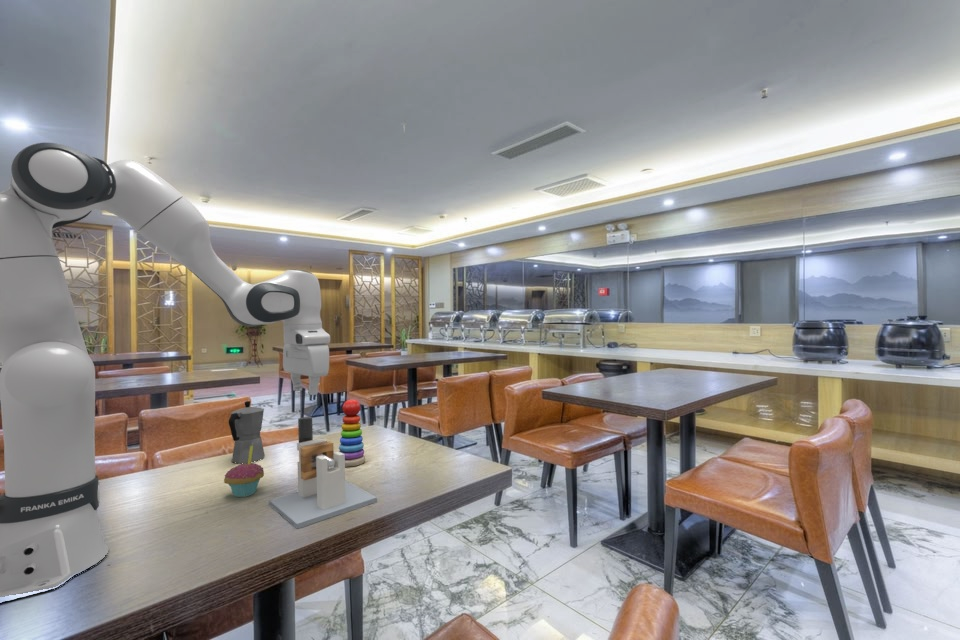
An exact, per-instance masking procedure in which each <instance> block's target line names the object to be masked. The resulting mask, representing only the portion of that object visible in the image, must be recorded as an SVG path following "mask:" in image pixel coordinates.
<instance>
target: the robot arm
mask: <svg viewBox="0 0 960 640" xmlns="http://www.w3.org/2000/svg"><path fill="white" fill-rule="evenodd" d="M11 163H12V164H11V176H10V177H11V178H10V185H9V186H8V188H7V189H5V190H3V191H0V363H1V369H0V413H1V425H2V426H1V427H2V437H3V438H2V439H3V446H4V447H3V451H4V452H3V453H4V455H3V457H4V459H3V460H4V493H1V492H0V597H5V596H9V595H16V594H23V593H28V592H33V591H39V590H43V589H49V588H53V587H56V586H58V585H59V584H61V583H62V582H64V581H65V580H67V579H68V578H69V577H70V576H72V575H73V574H75V573H77V572H79V571H81V570H83V569H85V568H86V567H89V566H91V565H93V564H95V563H96V562H98V561H99V560H101V559H102V558H103V557H105V555H106V554H107V553H108V554H109V552H108V549H109V547H108V545H107V543H106V541H105V539H104V534H103V531H102V528H101V523H100V518H99V512H98V511H99V510H98V509H99V507H100V503H101V489H100V488H101V486H100V481H99V476H98V474H96V448H95V447H96V445H95V439H96V436H95V434H96V433H95V429H96V427H95V426H96V368H95V365H94V362H93V360H92V358H91V357H90V355H89V352H88V350H87V346H86V343H85V339H84V336H83V332H82V329H81V326H80V323H79V319H78V315H77V313H76V308H75V305H74V302H73V299H72V296H71V292H70V289H69V287H68V286H69V285H68V282H67V279H66V275H65V273H64V270H63V267H62V263H61V261H60V258H59V255H58V251H57V249H56V247H55V242H54V239H53V229H56V228H60V227H61V226H66V225H69V224H73V223H76V222H79V221H81V220H83V219H85V218H87V217H88V216H89V215H90V214H91V213H92V212H93V210H98V211H104V212H108V213H110V214H112V215H114V216H116V217H118V218H119V219H122V220H123V221H124V222H125V223H126V224H127V225H129V226H130V227H131V228H132V229H134V230H135V231H136V232H137V233H138V234H139V235H141V236H142V237H143V238H144V239H146V240H147V241H149V243H151V244H153V245H154V246H155V247H156V248H157V249H159V250H160V251H162V252H163V253H165V254H167V255H168V256H170V257H171V258H173V259H174V260H176V261H177V262H178V263H179V264H180V265H182V266H184V267H185V268H186V269H188V270H189V271H190V272H191V273H192V274H193V275H194V276H195V277H196V278H197V279H199V280H200V281H201V282H202V283H203V284H204V285H206V287H208V288H209V289H210V290H211V291H212V292H213V293H214V294H215V295H217V297H218V298H219V299H220V300H221V301H222V303H223V304H224V306H225V308H226V310H227V312H228V314H229V315H230V317H231V319H232V320H234V321H235V322H236V323H237V324H239V325H240V326H241V325H242V326H243V327H244V326H246V327H257V326H261V325H267V324H268V325H269V324H275V323H277V322H279V321H280V322H282V324H283V344H284V345H283V350H282V369H283V371H284V372H285V373H290V379H291V383H292V391H294V392H301V391H303V383H302V380H301V377H302V376H306V377H308V381H309V384H308V386H307V394H308V395H309V396H316V395H318V394H319V390H318V389H319V384H320V380H321V377H327V376H328V375H329V374H328V373H329V370H330V348H329V346H328V345H329V344H331V335H330V334H329V333H328V332H326V330H325V329H324V328H323V322H322V318H321V311H322V293H321V286H320V281H319V279H318V277H317V276H316V274H314V273H312V272H311V271H308V270H303V269H293V268H291V269H286V270H285V271H284V272H283V273H281V274H279V275H277V276H275V277H273V278H270V279H267V280H263V281H260V282H258V283H257V282H256V283H253V284H251V283H250V282H246V281H245V280H243V279H242V278H241V277H240V276H239V275H238V274H236V273H235V272H234V271H233V270H232V269H231V268H230V267H229V266H228V265H227V264H226V263H225V262H224V261H223V260H221V258H220V257H219V256H218V255H217V254H216V251H215V250H214V249H213V245H212V241H211V229H210V225H209V222H208V221H207V220H206V218H205V217H204V216H203V215H202V213H201V212H200V211H199V209H198V208H197V207H196V206H195V205H194V204H193V203H192V202H191V201H190V200H189V199H187V198H186V196H184V195H183V193H181V192H180V191H179V190H178V189H176V187H174V186H172V184H171V183H169V182H168V181H166V180H165V179H164V178H163V177H161V176H160V175H158V174H157V173H156V172H154V171H153V170H152V169H150V168H148V167H147V166H146V165H143V164H142V163H140V161H139V162H138V161H136V160H131V159H122V160H121V159H120V160H116V161H113V162H111V163H109V164H108V163H107V162H106V161H104V160H103V159H100V158H98V157H95V156H92V155H89V154H87V153H84V152H83V151H80V150H77V149H75V148H73V147H70V146H67V145H65V144H61V143H56V142H37V143H34V144H31V145H28V146H26V147H25V148H22V149H21V150H20V151H19V152H18V153H17V154H16V155H15V156H14V158H13V160H12V162H11ZM108 554H107V555H108ZM105 558H106V557H105Z"/></svg>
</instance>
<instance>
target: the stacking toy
mask: <svg viewBox="0 0 960 640" xmlns="http://www.w3.org/2000/svg"><path fill="white" fill-rule="evenodd" d="M360 411H361V404H360V402H359V401H358V400H357V399H354V398H352V399H347V400H346V401H344V402H343V405H342V412H343V414H344V416H343V417H342V422H343V423H341V424H342V425H341V429H342V430H341V431H340V436H341V437H340V439H339V443H340V444H339V446H338V449H339V450H338V452H341V453H343V454H345V468H346V467H347V468H348V467H349V468H350V467H355V466H360V465H362V464H363V463H365V460H366V456H365V455H364V454H365V450H364V447H365V446H364V445H365V444H364V441H363V439H364V438H363V436H362V434H363V430H362V429H361V427H362V425H361V422H360V421H361V416H360V415H358V414H359V413H360Z"/></svg>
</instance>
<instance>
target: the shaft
mask: <svg viewBox="0 0 960 640" xmlns="http://www.w3.org/2000/svg"><path fill="white" fill-rule="evenodd" d="M297 421H298V422H297V424H298V425H297V426H298V427H297V429H298V433H297V434H298V443H301V442H306V441H311V440H314V439H313V438H314V435H313V431H314V430H313V417H312V416H304V417H299V418H298V419H297ZM317 456H323V457H325V458H327V468H329V469H334V468H335V467H336V466H337V462H336V461H335V460H333V459H331V458H329V457H327V456H325V455H323V454H321V453H319V454H314V455H311V459H312V460H314V461H316V457H317Z"/></svg>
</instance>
